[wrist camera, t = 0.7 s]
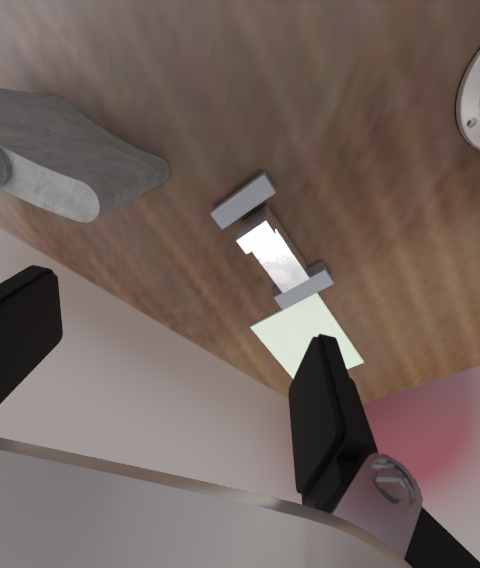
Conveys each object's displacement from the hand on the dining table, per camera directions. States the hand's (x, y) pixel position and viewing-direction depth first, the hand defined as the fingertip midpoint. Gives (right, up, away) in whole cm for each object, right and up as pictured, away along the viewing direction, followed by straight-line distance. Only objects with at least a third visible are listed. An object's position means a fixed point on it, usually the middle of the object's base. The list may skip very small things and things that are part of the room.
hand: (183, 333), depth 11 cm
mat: (+13, -8, +37) cm, 40 cm away
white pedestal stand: (+7, +8, +30) cm, 31 cm away
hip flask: (-14, +19, +26) cm, 35 cm away
